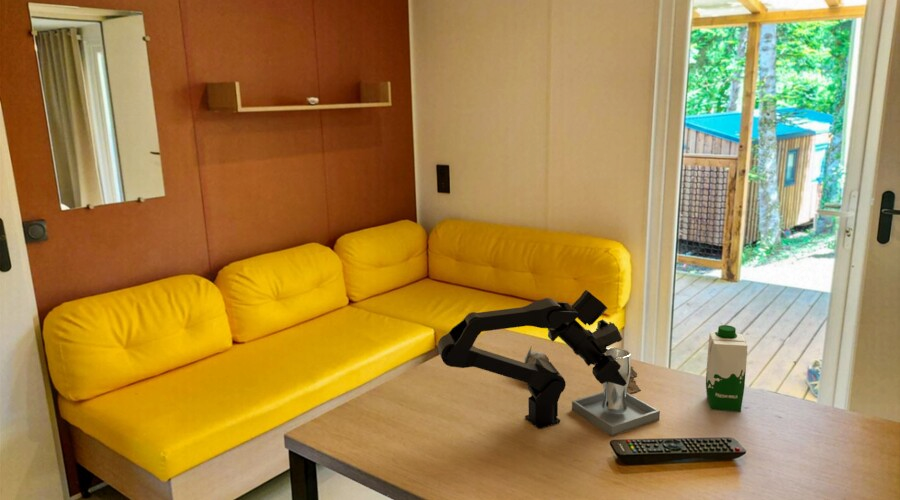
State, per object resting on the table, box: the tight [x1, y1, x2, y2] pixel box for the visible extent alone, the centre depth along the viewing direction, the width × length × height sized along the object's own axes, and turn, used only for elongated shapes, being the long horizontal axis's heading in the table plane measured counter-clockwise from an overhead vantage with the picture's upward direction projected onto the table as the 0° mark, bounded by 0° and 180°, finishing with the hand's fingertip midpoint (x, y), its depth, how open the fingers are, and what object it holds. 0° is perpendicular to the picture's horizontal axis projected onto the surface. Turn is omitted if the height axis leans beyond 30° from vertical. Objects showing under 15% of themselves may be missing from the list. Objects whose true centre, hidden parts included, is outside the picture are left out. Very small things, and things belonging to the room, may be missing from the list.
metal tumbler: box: [602, 347, 632, 414], centre depth 156 cm, size 7×7×15 cm
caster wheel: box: [524, 346, 550, 364], centre depth 179 cm, size 7×11×10 cm
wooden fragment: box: [627, 365, 642, 395], centre depth 180 cm, size 26×11×1 cm, turn 169°
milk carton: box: [705, 324, 748, 413], centre depth 159 cm, size 9×9×20 cm
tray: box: [571, 391, 661, 437], centre depth 158 cm, size 15×15×2 cm
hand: (620, 378), depth 156 cm, fingers closed on metal tumbler, 6 cm apart
